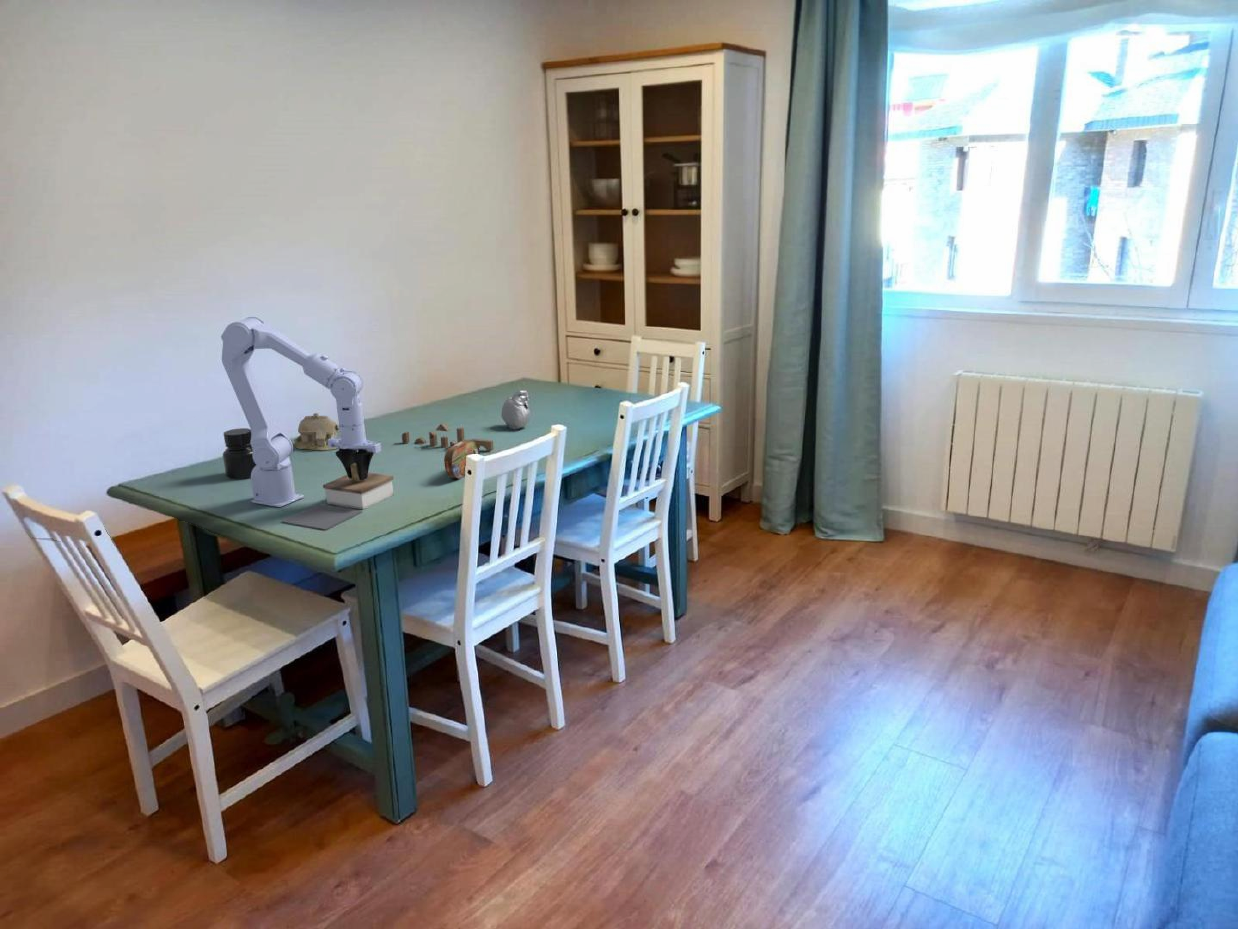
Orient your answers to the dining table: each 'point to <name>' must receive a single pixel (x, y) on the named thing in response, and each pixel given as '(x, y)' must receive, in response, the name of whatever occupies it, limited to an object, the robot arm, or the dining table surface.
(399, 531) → the dining table surface
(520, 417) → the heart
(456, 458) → the tin
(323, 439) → the ceramic model
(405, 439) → the wooden blocks
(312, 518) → the mat
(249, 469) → the ink bottle
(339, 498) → the box
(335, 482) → the lid
